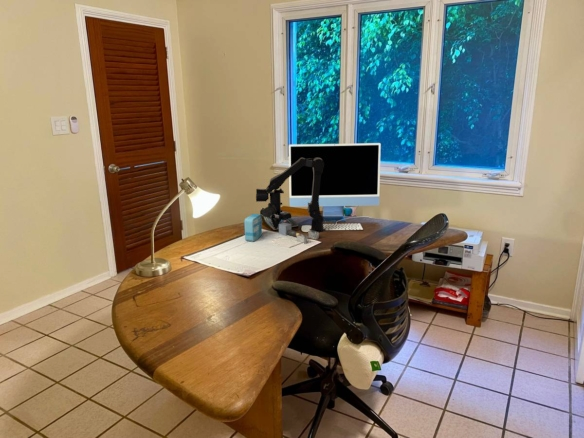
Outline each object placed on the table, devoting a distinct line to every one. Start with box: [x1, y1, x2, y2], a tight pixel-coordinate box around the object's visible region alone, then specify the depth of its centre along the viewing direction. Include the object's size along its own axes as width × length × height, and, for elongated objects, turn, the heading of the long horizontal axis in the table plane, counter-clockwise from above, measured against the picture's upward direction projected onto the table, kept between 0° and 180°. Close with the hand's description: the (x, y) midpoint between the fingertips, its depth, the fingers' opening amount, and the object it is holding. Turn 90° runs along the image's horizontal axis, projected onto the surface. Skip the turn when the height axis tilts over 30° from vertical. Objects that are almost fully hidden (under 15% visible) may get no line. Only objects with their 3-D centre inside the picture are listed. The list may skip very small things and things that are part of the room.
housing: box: [296, 229, 320, 245], centre depth 221 cm, size 12×5×4 cm, turn 138°
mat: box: [269, 236, 303, 249], centre depth 218 cm, size 9×14×1 cm, turn 48°
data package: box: [244, 213, 263, 242], centre depth 224 cm, size 12×4×12 cm, turn 162°
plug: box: [278, 222, 301, 238], centre depth 229 cm, size 4×13×6 cm, turn 48°
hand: (275, 228), depth 237 cm, fingers closed
